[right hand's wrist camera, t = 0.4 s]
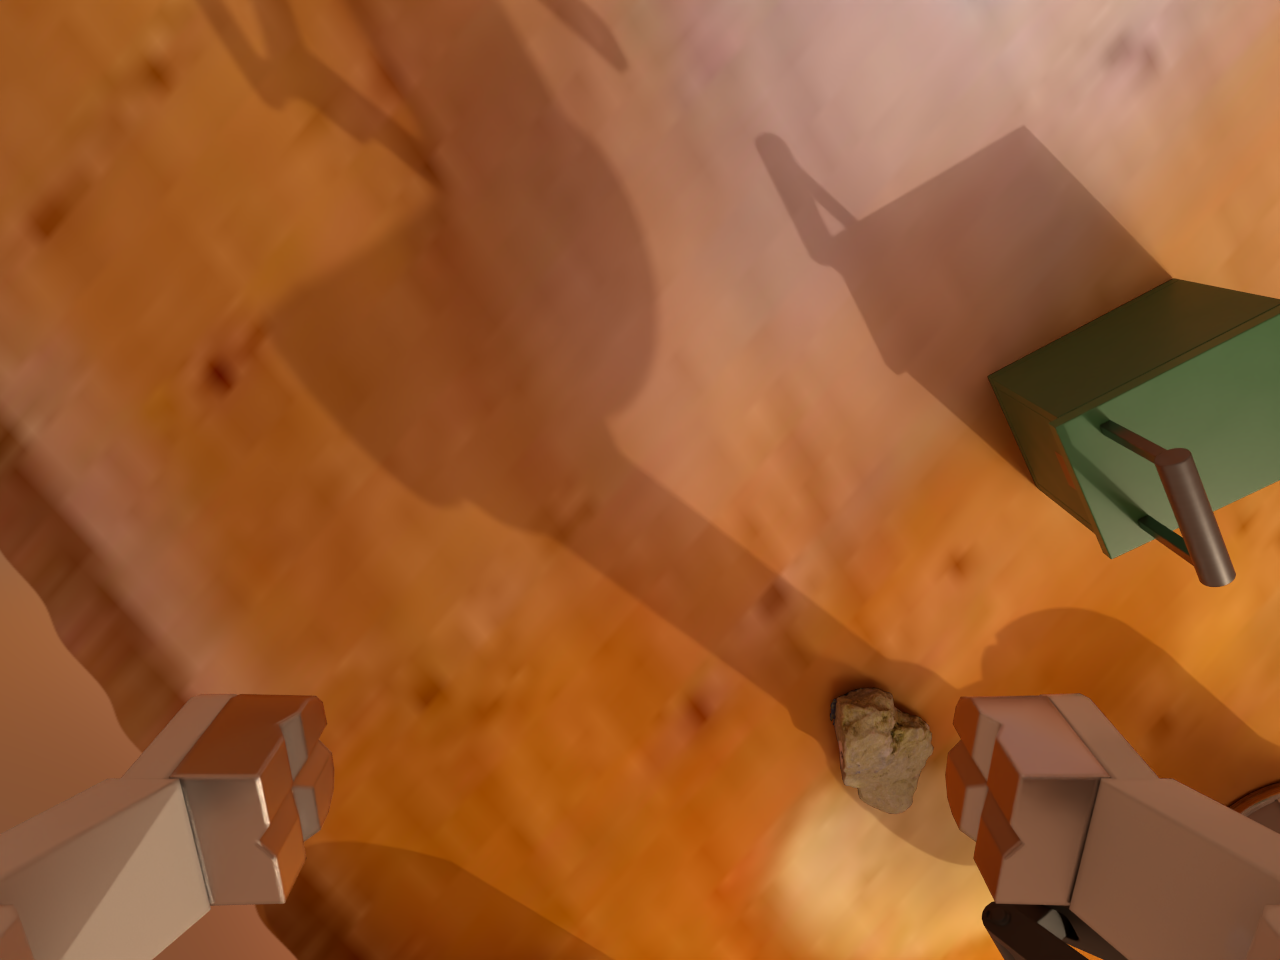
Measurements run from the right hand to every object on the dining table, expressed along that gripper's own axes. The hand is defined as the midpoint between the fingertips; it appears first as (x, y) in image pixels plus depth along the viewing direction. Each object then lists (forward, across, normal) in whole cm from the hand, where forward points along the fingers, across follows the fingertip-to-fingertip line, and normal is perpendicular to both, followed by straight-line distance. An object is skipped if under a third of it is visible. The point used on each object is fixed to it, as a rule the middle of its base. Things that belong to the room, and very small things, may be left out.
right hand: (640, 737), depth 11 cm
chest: (+48, -33, +7) cm, 58 cm away
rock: (+48, -19, +37) cm, 63 cm away
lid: (+37, -32, +7) cm, 50 cm away
